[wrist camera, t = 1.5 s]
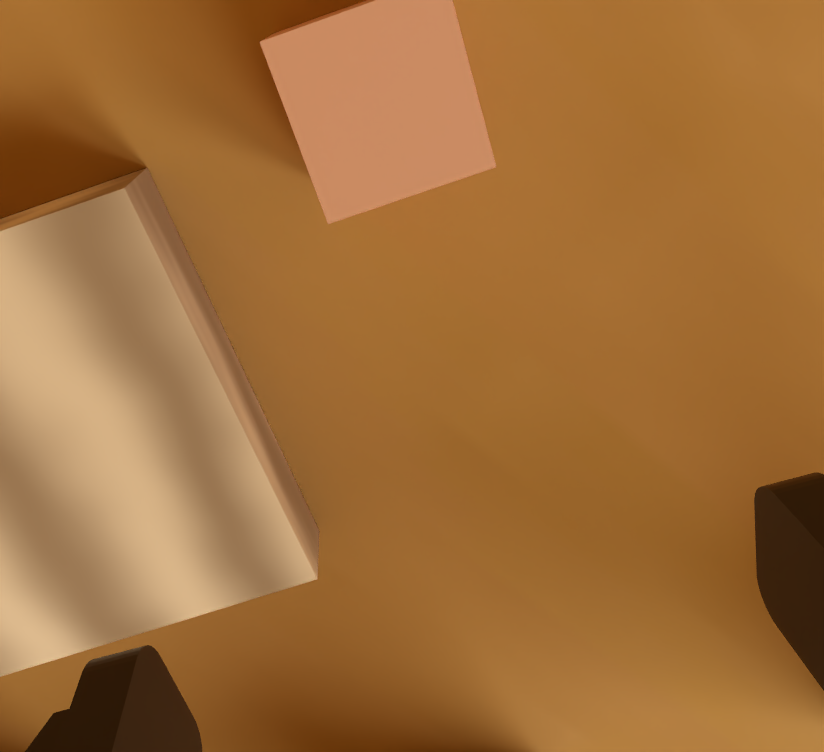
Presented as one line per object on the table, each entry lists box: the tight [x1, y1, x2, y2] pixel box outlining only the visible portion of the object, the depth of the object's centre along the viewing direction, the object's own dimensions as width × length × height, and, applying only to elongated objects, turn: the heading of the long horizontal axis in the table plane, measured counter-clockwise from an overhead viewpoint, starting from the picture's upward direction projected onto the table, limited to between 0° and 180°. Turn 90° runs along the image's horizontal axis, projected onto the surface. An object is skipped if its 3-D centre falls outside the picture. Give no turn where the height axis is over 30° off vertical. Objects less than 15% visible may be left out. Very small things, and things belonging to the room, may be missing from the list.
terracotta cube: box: [260, 0, 496, 224], centre depth 23 cm, size 5×5×5 cm
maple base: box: [0, 168, 319, 677], centre depth 28 cm, size 16×16×3 cm
